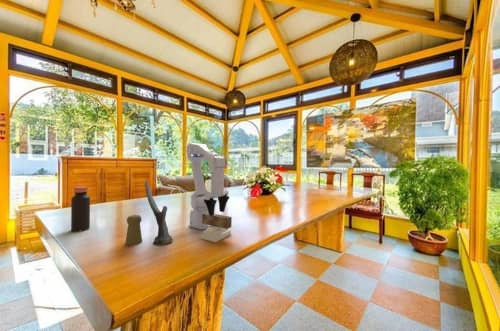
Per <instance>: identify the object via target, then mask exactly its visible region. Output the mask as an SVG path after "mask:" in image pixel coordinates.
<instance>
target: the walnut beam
mask: <svg viewBox="0 0 500 331" xmlns="http://www.w3.org/2000/svg"><path fill="white" fill-rule="evenodd" d="M232 220H233V219H232V216H228V215H222V214H217V213H214V215H213V216H211V215H209V213H204V214H202V224H206V225H211V226H215V227H220V228H225V229H228V230H230V228H232ZM211 226H210V227H211Z"/></svg>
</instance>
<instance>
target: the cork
mask: <svg viewBox="0 0 500 331" xmlns="http://www.w3.org/2000/svg"><path fill="white" fill-rule="evenodd" d="M141 223H142V216H141V215H140V214H132V215H129V216H127V218H126V224H128V225H127V232H126V235H125V236H126V237H125V245H126V246H136V245H139V244H142V242H143V238H142V237H143V236H142V230H141V229H142V228H141Z"/></svg>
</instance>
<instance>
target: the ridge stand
mask: <svg viewBox="0 0 500 331" xmlns="http://www.w3.org/2000/svg"><path fill="white" fill-rule="evenodd" d="M231 231H232V230H231V229H225V228H220V227H215V226H210V227H207V228H205V230H204V232H202V233H201V234H200V238H201V239H202V240H204V241H205V240H206V241H209V242H212V243H213V242H214V243H218V242H219V241H221V240H222V239H225V238H227V237H228V236H231Z"/></svg>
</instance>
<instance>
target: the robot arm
mask: <svg viewBox="0 0 500 331" xmlns="http://www.w3.org/2000/svg"><path fill="white" fill-rule="evenodd" d="M186 156H187V160H188V161H190V163H191V164H190V166H191V170H192V177H193V183H194V190H195V191H194V192H193V193H192V194H191V195H190V206H191V208H192V209H191V210H190V212H189V225H188V227H190V228H194V229H197V230H204V229H205V230H206V228H208V227H211V225H206V224H202V214H204V213H209V215H211V216H213V215H214V214H215V210H216V209H215V207H216V205H217V201H218V206H219V208H218V211H219V212H222V213H224V212H225V209H226V206H227V203H228V201H229V199H230V196H229V190H224V189H225V169H226V168H227V166H228V160H227V158H226V156H224V155H221V156H220V155H219V153H217V152H215V150H214V149H210V148H209V147H208V145H207V144H206V143H193V142H188V143H187V146H186ZM204 160H205V161H206V162H207V163H208V166H209V171H210V173H211V174H210V177H211V178H210V191H209V190H207V189H206V187H205V181H204V175H203V174H204V173H203V168H202V164H201V162H202V161H204ZM215 198H216V199H215ZM217 199H218V200H217Z"/></svg>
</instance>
